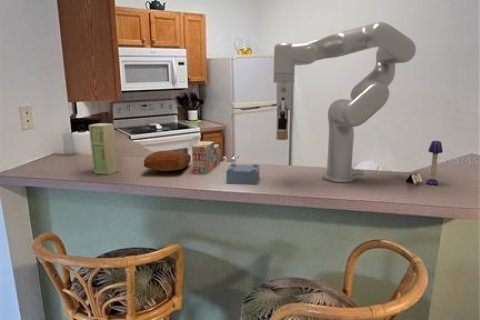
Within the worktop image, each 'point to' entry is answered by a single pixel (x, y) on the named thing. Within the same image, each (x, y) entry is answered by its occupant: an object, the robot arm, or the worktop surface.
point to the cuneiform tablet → (167, 161)
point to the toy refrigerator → (103, 148)
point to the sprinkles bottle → (281, 133)
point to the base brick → (242, 174)
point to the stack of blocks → (205, 157)
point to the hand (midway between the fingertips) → (282, 127)
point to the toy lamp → (434, 161)
